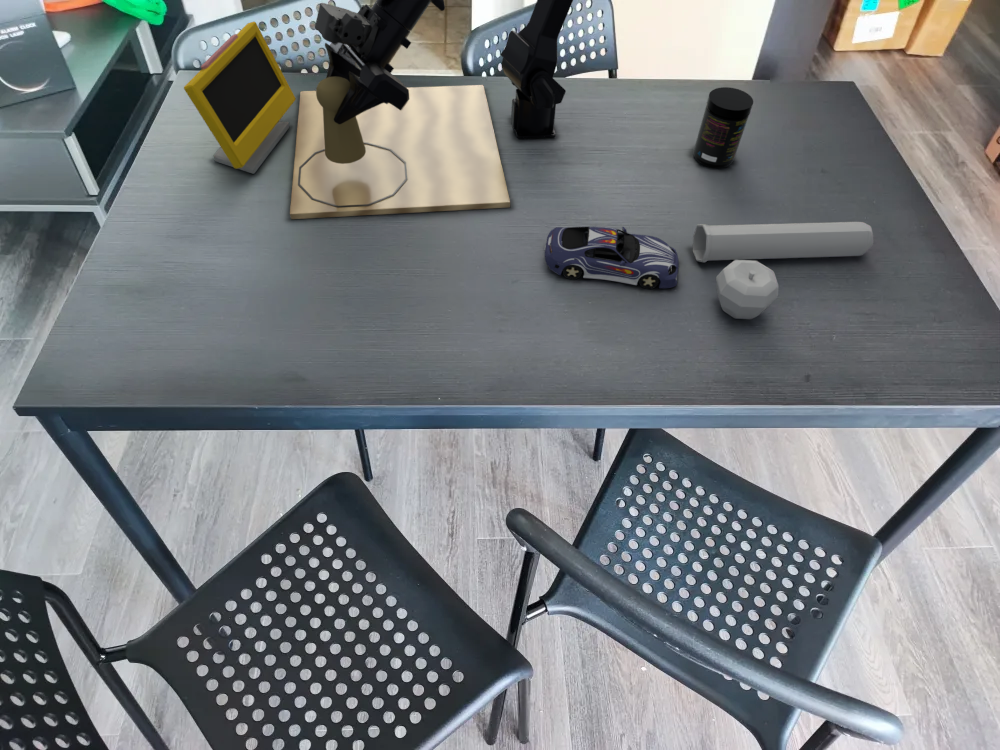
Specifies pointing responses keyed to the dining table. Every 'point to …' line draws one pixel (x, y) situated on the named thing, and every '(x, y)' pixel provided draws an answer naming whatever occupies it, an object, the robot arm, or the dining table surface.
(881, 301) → the dining table surface
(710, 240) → the tube
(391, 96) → the robot arm
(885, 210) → the dining table surface
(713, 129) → the supplement container
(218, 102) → the toy computer monitor
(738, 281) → the apple
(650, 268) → the toy car
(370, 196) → the sketch board
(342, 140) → the pepper shaker
